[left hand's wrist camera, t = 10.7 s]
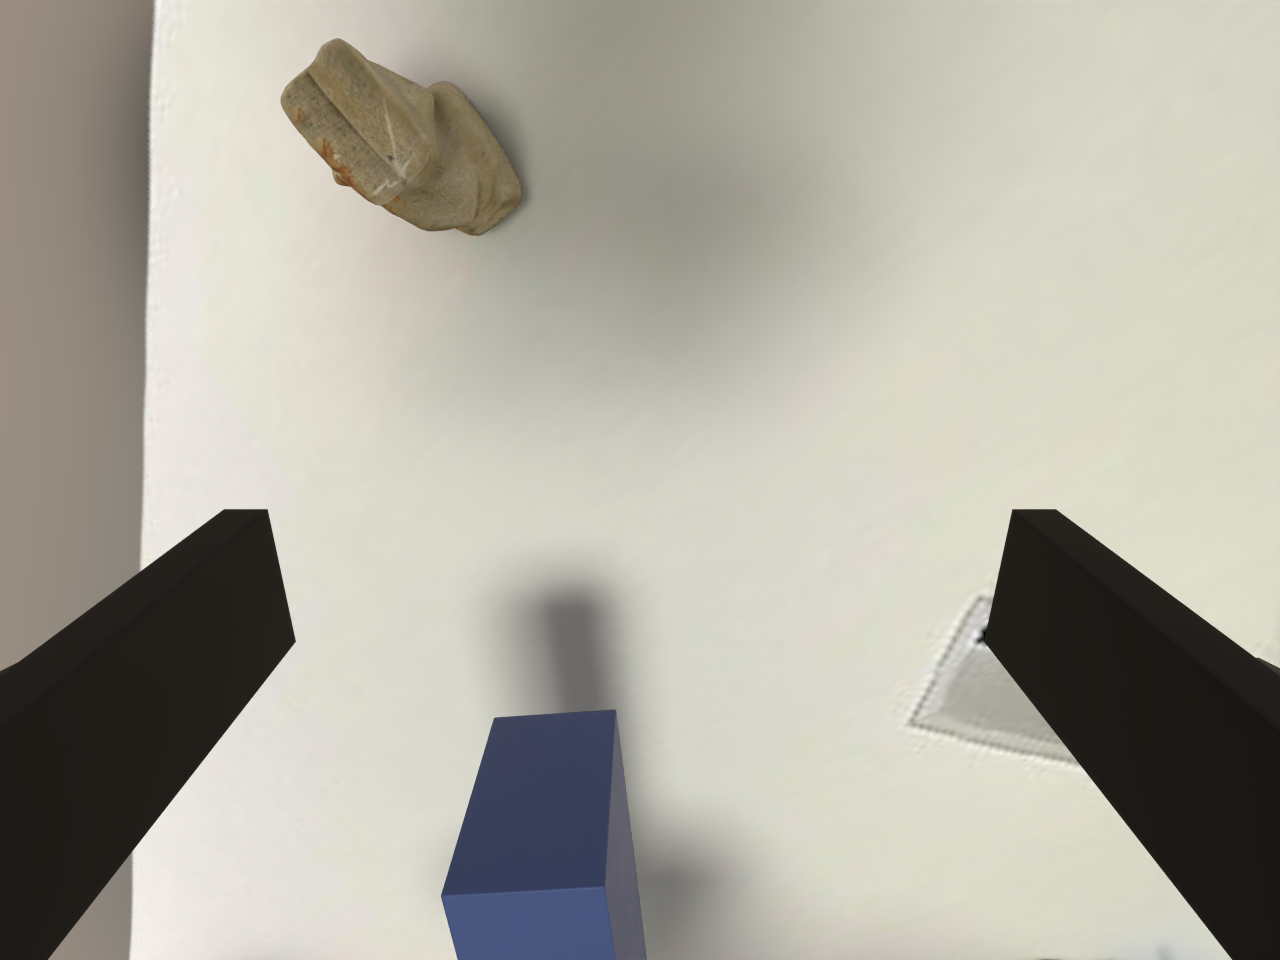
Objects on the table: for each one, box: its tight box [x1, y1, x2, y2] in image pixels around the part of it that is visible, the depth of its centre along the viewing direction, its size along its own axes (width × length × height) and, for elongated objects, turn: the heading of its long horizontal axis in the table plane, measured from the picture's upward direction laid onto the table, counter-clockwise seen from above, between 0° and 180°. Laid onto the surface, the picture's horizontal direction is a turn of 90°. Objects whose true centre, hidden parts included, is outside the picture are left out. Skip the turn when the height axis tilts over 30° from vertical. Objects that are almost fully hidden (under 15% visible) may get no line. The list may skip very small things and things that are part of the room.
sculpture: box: [281, 38, 522, 236], centre depth 32 cm, size 6×7×15 cm
